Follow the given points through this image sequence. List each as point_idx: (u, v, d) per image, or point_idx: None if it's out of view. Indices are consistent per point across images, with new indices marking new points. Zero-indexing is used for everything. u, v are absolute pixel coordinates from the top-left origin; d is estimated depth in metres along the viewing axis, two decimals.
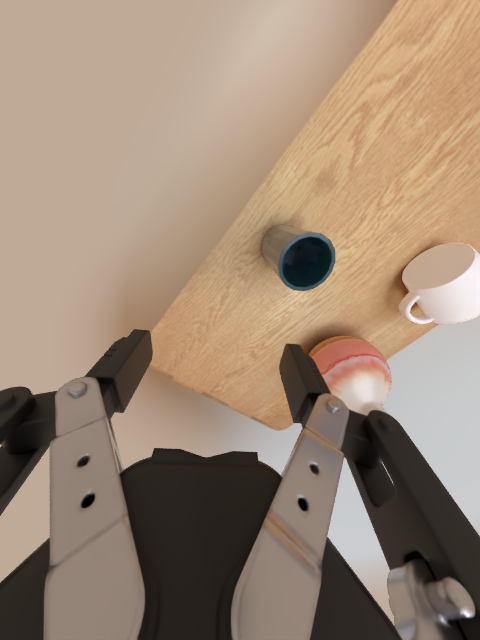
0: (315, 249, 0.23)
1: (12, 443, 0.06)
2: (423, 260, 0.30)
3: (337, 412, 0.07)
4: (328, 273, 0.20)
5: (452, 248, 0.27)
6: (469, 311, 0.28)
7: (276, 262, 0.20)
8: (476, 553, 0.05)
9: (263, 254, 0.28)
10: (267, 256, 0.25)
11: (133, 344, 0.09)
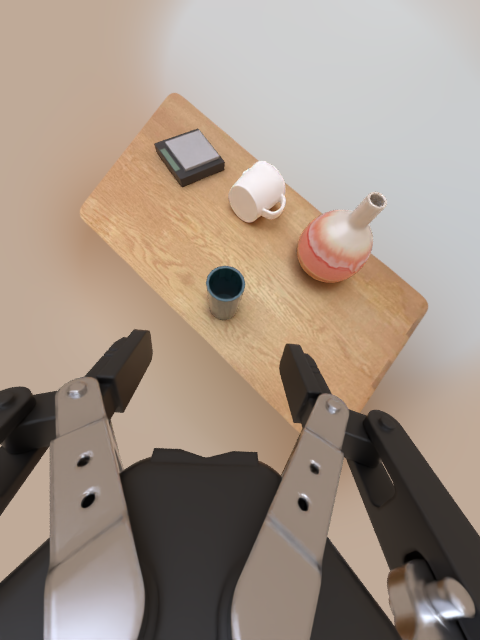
0: (221, 280, 0.34)
1: (12, 443, 0.06)
2: (240, 212, 0.44)
3: (337, 412, 0.07)
4: (233, 269, 0.30)
5: (231, 198, 0.42)
6: (273, 175, 0.40)
7: (224, 303, 0.29)
8: (476, 553, 0.05)
9: (227, 317, 0.38)
10: (225, 312, 0.34)
11: (133, 344, 0.09)
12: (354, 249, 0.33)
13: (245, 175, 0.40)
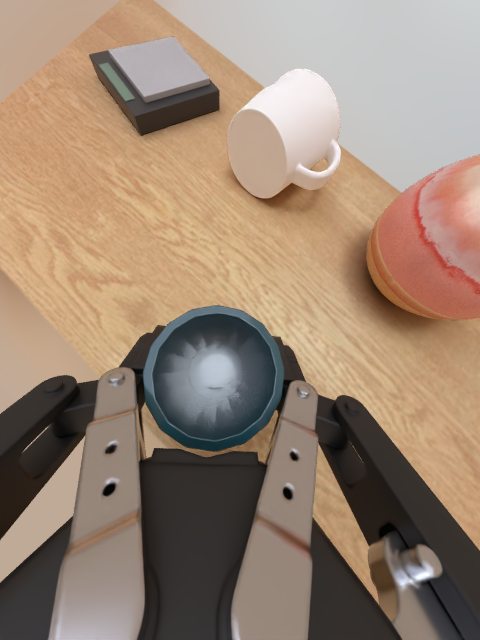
0: (208, 332, 0.13)
1: (56, 427, 0.07)
2: (249, 177, 0.23)
3: (306, 397, 0.08)
4: (243, 316, 0.09)
5: (233, 147, 0.21)
6: (320, 94, 0.19)
7: None
8: (436, 513, 0.05)
9: None
10: None
11: None
12: None
13: (262, 92, 0.19)
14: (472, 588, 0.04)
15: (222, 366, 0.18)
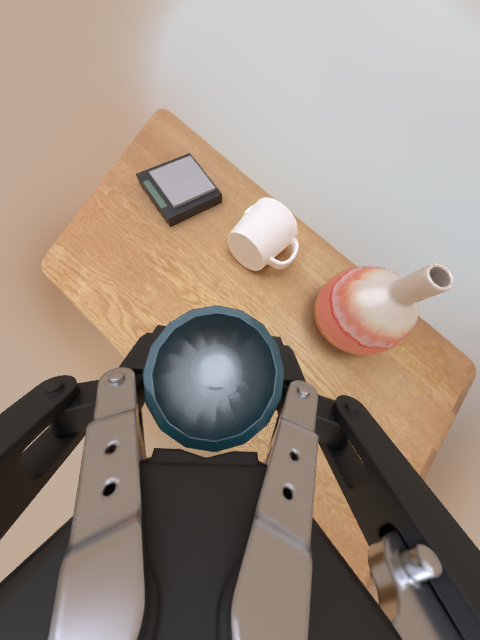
0: (208, 332, 0.13)
1: (56, 427, 0.07)
2: (241, 258, 0.36)
3: (306, 397, 0.08)
4: (243, 316, 0.09)
5: (231, 243, 0.34)
6: (283, 217, 0.32)
7: None
8: (436, 513, 0.05)
9: None
10: None
11: None
12: (396, 328, 0.24)
13: (247, 218, 0.31)
14: (472, 588, 0.04)
15: (222, 366, 0.18)
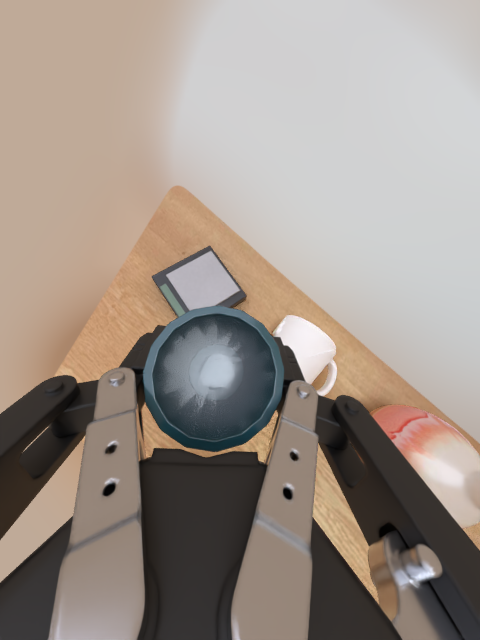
0: (209, 332, 0.13)
1: (56, 427, 0.07)
2: None
3: (306, 397, 0.08)
4: (243, 316, 0.09)
5: None
6: (322, 346, 0.28)
7: None
8: (436, 513, 0.05)
9: None
10: None
11: None
12: (470, 523, 0.21)
13: None
14: (472, 588, 0.04)
15: (222, 366, 0.18)
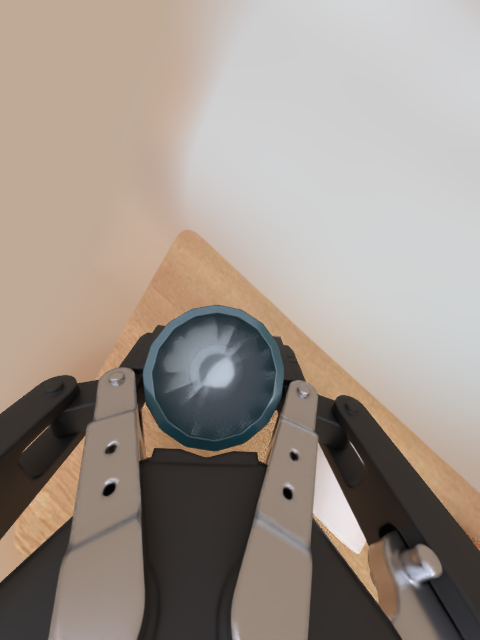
0: (208, 332, 0.13)
1: (56, 427, 0.07)
2: None
3: (306, 397, 0.08)
4: (243, 315, 0.09)
5: None
6: None
7: None
8: (435, 513, 0.05)
9: None
10: None
11: None
12: None
13: (335, 486, 0.20)
14: (472, 588, 0.04)
15: (222, 366, 0.18)
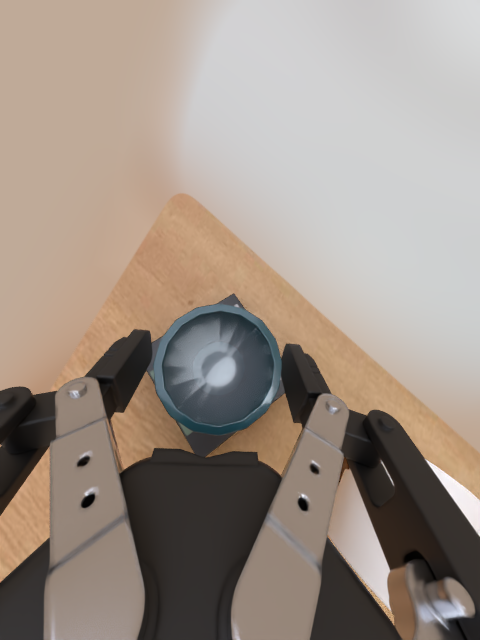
0: (212, 329, 0.13)
1: (12, 443, 0.06)
2: None
3: (337, 412, 0.07)
4: (244, 313, 0.10)
5: None
6: (473, 526, 0.14)
7: None
8: (476, 553, 0.05)
9: None
10: None
11: (133, 344, 0.09)
12: None
13: None
14: None
15: (224, 363, 0.19)
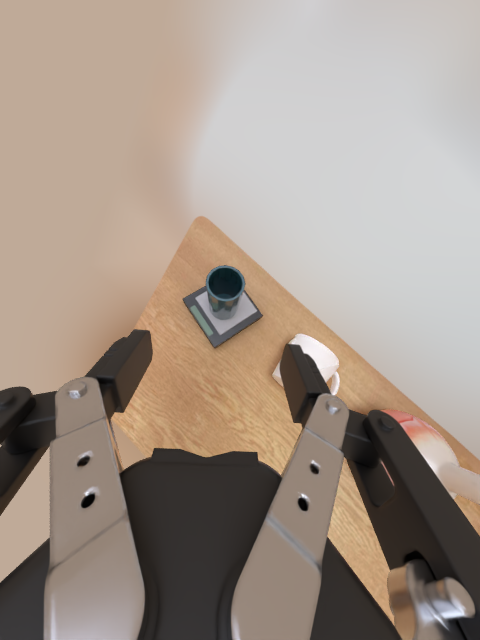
0: (221, 279, 0.34)
1: (12, 443, 0.06)
2: None
3: (337, 412, 0.07)
4: (233, 268, 0.30)
5: (276, 377, 0.36)
6: (328, 361, 0.34)
7: (224, 303, 0.29)
8: (476, 553, 0.05)
9: (227, 317, 0.38)
10: (225, 312, 0.34)
11: (133, 344, 0.09)
12: None
13: None
14: None
15: None
